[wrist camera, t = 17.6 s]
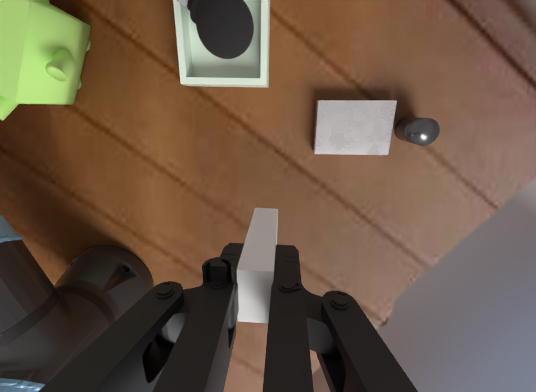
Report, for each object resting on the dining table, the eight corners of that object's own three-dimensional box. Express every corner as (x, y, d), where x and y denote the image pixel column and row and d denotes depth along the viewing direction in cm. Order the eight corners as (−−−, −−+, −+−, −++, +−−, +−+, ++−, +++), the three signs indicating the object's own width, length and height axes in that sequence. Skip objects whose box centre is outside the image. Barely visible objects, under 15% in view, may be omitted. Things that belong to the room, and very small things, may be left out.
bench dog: (392, 140, 36) (409, 145, 31) (397, 116, 34) (414, 118, 30) (415, 140, 35) (435, 145, 31) (420, 117, 34) (442, 118, 30)
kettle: (74, -33, 31) (-33, -103, 21) (130, 84, 35) (65, 75, 25) (-16, 16, 34) (-152, -24, 23) (47, 120, 38) (-45, 125, 27)
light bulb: (166, -60, 23) (254, 14, 24) (199, -42, 28) (270, 18, 29) (147, 13, 26) (225, 74, 28) (179, 17, 32) (244, 68, 33)
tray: (190, 86, 35) (180, 84, 32) (182, -10, 31) (171, -23, 28) (268, 87, 34) (266, 85, 31) (270, -11, 31) (268, -24, 27)
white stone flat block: (312, 150, 37) (314, 153, 35) (316, 100, 35) (318, 100, 33) (381, 151, 37) (387, 154, 34) (389, 100, 34) (397, 100, 32)
